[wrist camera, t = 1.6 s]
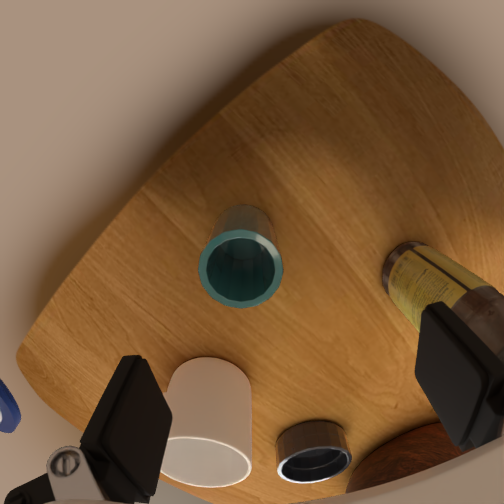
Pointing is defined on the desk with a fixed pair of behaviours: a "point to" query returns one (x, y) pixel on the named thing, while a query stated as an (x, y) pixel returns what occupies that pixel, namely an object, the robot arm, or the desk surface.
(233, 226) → the cup
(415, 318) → the sauce bottle
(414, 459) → the wooden bowl
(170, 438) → the mug
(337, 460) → the bowl
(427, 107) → the desk surface
